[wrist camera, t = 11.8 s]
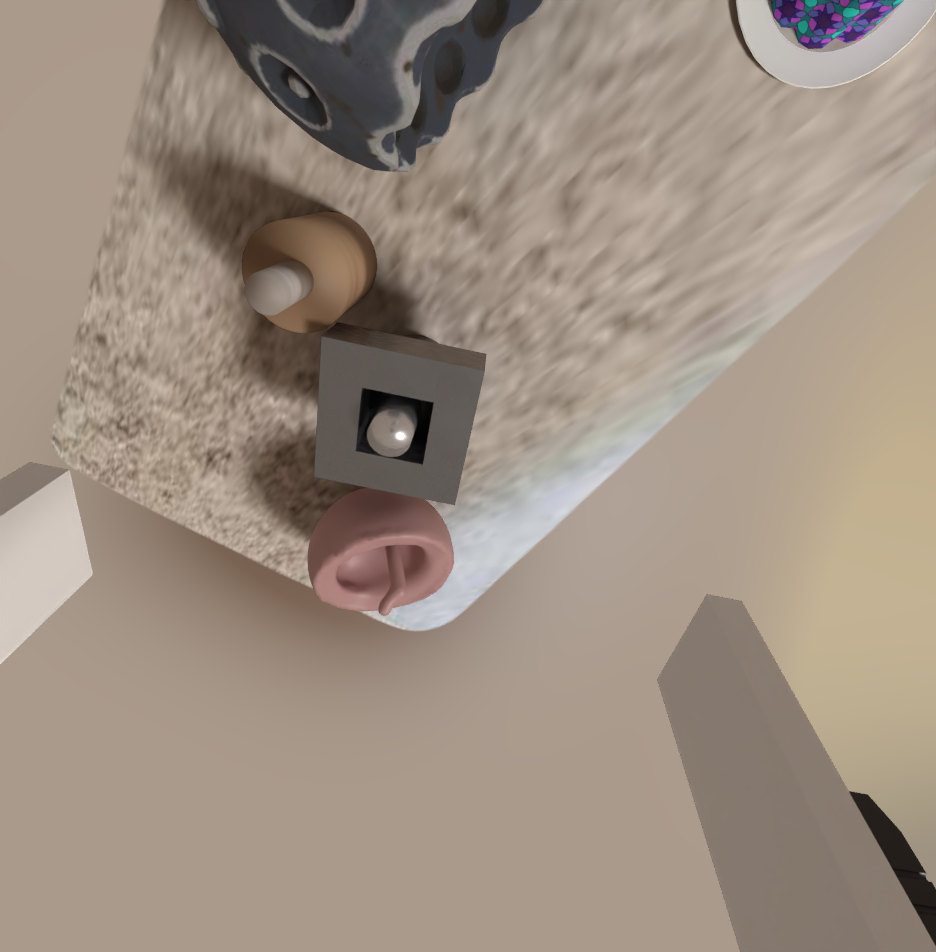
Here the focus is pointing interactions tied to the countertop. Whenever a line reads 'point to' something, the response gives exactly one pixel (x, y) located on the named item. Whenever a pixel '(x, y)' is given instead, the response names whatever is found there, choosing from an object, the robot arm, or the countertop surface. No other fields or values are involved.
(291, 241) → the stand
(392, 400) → the dark bottle with stopper
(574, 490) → the countertop surface
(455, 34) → the dark grey piece
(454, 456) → the square hole block
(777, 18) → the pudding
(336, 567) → the mortar and pestle
